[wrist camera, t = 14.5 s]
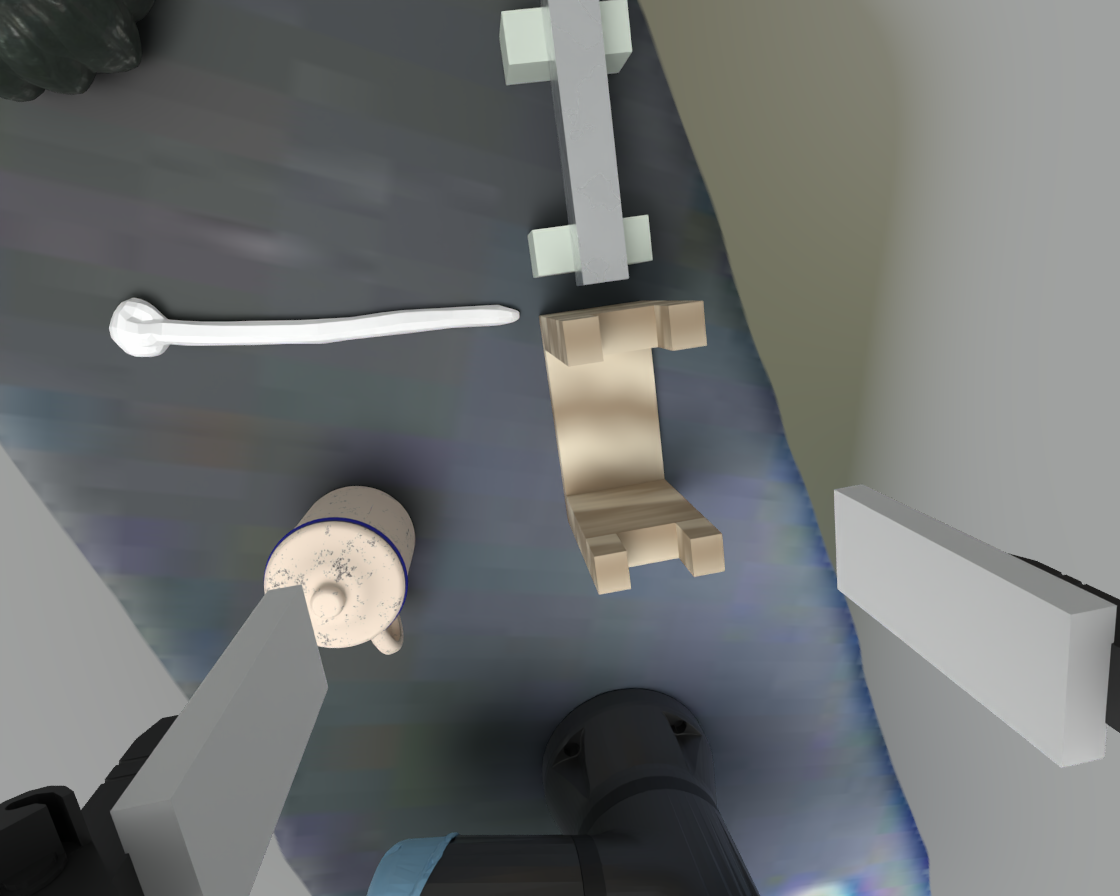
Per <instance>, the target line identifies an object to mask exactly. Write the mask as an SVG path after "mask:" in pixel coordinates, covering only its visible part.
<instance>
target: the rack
mask: <svg viewBox="0 0 1120 896" xmlns="http://www.w3.org/2000/svg"><path fill="white" fill-rule="evenodd" d="M539 320H540V327H541V334H542V341H543V348H544V355H545V362H546V369H547V376H548V383H549V390H550V397H551V404H552V411H553V418H554V425H555V432H556V439H557V446H558V453H559V460H560V467H561V474H562V481H563V488H564V495H565V502H566V509H567V516H568V522H569V524H570V526H571V529H572V531H573V534H574V536H575V538H576V541H577V543H578V546H579V548H580V550H581V553H582V555H583V557H584V560H585V562H586V565H587V567H588V569H589V572H590V574H591V577H592V579H593V581H594V584H595V586H596V588H597V591H598V593H599V595H600V594H605V593H611V592H616V591H621V590H627V589H631V584H630V576H629V568H628V567H633V566H638V565H644V564H649V563H654V562H660V561H665V560H671V559H676V558H680V560H681V561H682V562H683V564H684V565H685V566H686V567H687V569H688V570H689V571H690V572H691V574H692V575H693V576H694V577H696V576H701V575H707V574H712V573H717V572H723V571H725V564H724V552H723V540H722V533H721V532H720V531H719V530H718V529H717V528H716V527H715V526H713V525H712V524H711V523H710V522H709V521H708V520H707V519H706V518H705V517H704V516H703V515H702V514H701V513H700V512H699V511H698V510H697V509H696V508H694V507H693V506H692V505H691V504H690V503H689V502H688V501H687V500H686V499H685V498H684V497H683V496H682V495H681V494H680V493H679V492H678V491H677V490H676V489H674V488H673V487H672V486H671V485H670V484H669V483H668V482H667V481H666V480H665V478H664V468H663V459H662V449H661V439H660V429H659V419H658V410H657V400H656V390H655V380H654V370H653V361H652V351H651V348H655V347H660V348H664V349H668V350H672V351H674V350H681V349H687V348H694V347H700V346H707V342H706V330H705V318H704V305H703V301H635V302H629V303H622V304H615V305H608V306H601V307H594V308H587V309H580V310H574V311H567V312H560V313H553V314H546V315H539Z"/></svg>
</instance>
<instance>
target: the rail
mask: <svg viewBox="0 0 1120 896" xmlns="http://www.w3.org/2000/svg"><path fill="white" fill-rule="evenodd" d="M540 3H541V11H542V19H543V26H544V34H545V42H546V50H547V58H548V66H549V74H550V82H551V89H552V97H553V105H554V113H555V121H556V129H557V137H558V144H559V152H560V160H561V168H562V176H563V184H564V192H565V200H566V207H567V215H568V223H569V231H570V239H571V247H572V255H573V262H574V270H575V278H576V286H581V285H588V284H595V283H602V282H609V281H616V280H623V279H629V273H628V264H627V255H626V246H625V236H624V227H623V218H622V208H621V199H620V190H619V180H618V171H617V162H616V153H615V143H614V134H613V125H612V115H611V106H610V97H609V87H608V78H607V69H606V60H605V50H604V41H603V32H602V22H601V13H600V4H599V0H540Z"/></svg>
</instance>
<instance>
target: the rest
mask: <svg viewBox="0 0 1120 896" xmlns="http://www.w3.org/2000/svg"><path fill="white" fill-rule="evenodd" d="M599 4H600V13H601V22H602V32H603V41H604V50H605V60H606V69H607V74H613V73H619V72H620V70H621V68H622V67H623V65H624V64H625V62H626V61H627V59H628V57H629V56H630V54H631V53H632V44H631V34H630V24H629V14H628V4H627V0H610V1H600V2H599ZM499 39H500V46H501V53H502V60H503V67H504V74H505V81H506V85H514V84H523V83H532V82H541V81H550V74H549V66H548V58H547V50H546V42H545V34H544V26H543V19H542V11H541V8H531V9H521V10H511V11H501V22H500V34H499ZM623 227H624V236H625V246H626V255H627V264H628V265H630V264H637V263H642V262H647V261H651V260H653V258H652V248H651V238H650V228H649V218H648V215H642V216H634V217H627V218H623ZM528 243H529V250H530V257H531V264H532V271H533V278H537V277H544V276H551V275H559V274H566V273H573V272H575V270H574V262H573V255H572V247H571V239H570V231H569V225H567V226H559V227H552V228H544V229H536V230H532V231H531V232H530V233H529V235H528Z"/></svg>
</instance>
